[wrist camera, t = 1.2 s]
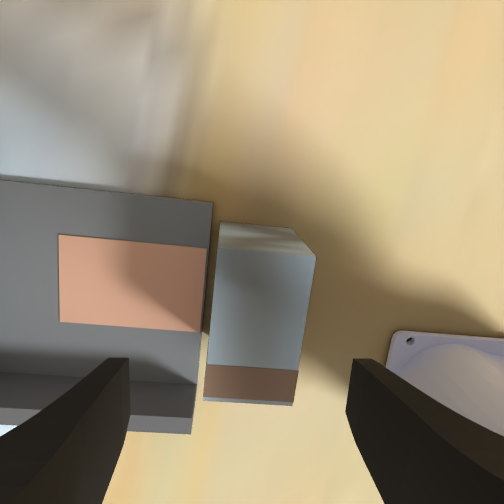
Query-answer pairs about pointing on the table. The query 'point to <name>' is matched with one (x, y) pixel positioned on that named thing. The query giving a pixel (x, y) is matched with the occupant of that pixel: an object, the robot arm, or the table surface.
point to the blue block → (257, 314)
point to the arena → (101, 298)
